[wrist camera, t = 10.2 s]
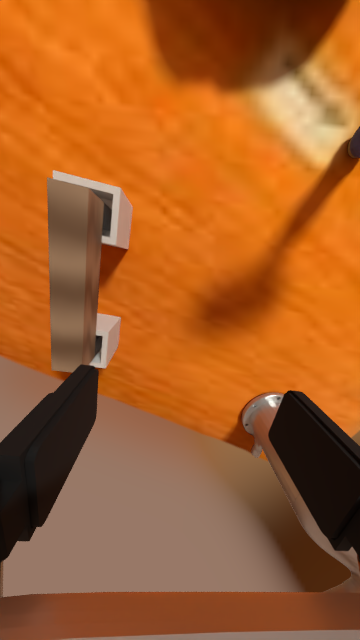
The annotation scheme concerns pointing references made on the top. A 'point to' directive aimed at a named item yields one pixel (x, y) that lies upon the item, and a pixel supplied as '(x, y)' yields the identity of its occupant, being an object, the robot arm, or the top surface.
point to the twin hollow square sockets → (115, 237)
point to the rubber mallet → (354, 145)
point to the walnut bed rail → (74, 272)
